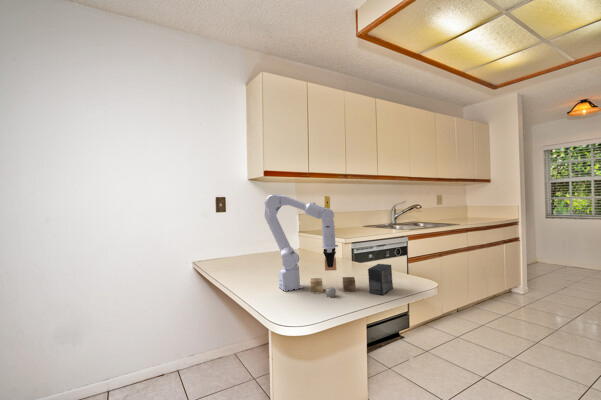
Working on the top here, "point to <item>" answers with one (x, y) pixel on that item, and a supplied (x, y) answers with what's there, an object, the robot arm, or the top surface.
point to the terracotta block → (330, 267)
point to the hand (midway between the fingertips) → (330, 265)
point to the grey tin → (330, 292)
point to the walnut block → (349, 284)
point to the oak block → (316, 285)
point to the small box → (380, 279)
